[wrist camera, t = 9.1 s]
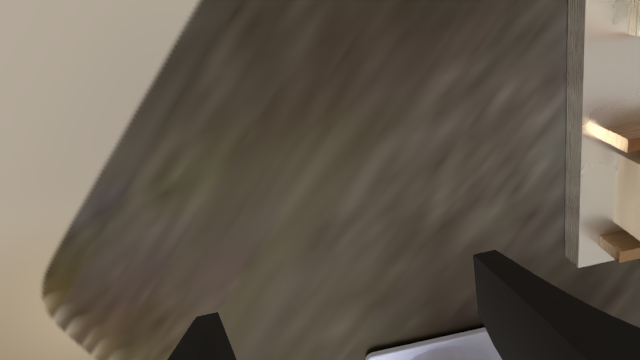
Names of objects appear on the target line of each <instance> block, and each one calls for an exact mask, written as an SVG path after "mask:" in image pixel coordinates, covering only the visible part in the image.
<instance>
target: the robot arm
mask: <svg viewBox="0 0 640 360" xmlns="http://www.w3.org/2000/svg"><path fill="white" fill-rule="evenodd" d="M473 258H474V270H475V281H476V293H477V304H478V313H479V315H480V318H481V320H482V322H483V324H484V326H485V327H484V328H480V329H475V330H471V331H466V332H462V333H457V334H453V335H448V336H444V337H439V338H435V339H430V340H426V341H421V342H417V343H412V344H407V345H403V346H398V347H394V348H389V349H385V350H380V351H376V352H372V353H370V354H368V355H367V357H366V360H640V328H638V327H636V326H634V325H632V324H629V323H627V322H625V321H622V320H620V319H618V318H615V317H613V316H611V315H609V314H607V313H605V312H602V311H600V310H598V309H596V308H594V307H592V306H590V305H588V304H586V303H585V302H583V301H581V300H579V299H577V298H575V297H573V296H571V295H569V294H567V293H566V292H564V291H562V290H560V289H558V288H557V287H555V286H553V285H551V284H550V283H548V282H546V281H545V280H543V279H541V278H540V277H538V276H536V275H535V274H533V273H531V272H530V271H528V270H527V269H525V268H523V267H522V266H520V265H519V264H517V263H515V262H514V261H512V260H511V259H509V258H507V257H506V256H504V255H503V254H501V253H499V252H498V251H496V250H493V251H488V252H484V253H479V254H475V255H473ZM168 360H236V358H235V355H234V352H233V350H232V347H231V345H230V342H229V340H228V337H227V335H226V332H225V329H224V327H223V324H222V322H221V319H220V317H219V314H218V312H216V313H212V314H207V315H203V316H199V317H196V318H195V320H194V321H193V323H192V324H191V326H190V327H189V329H188V330H187V331H186V333H185V334H184V336H183V337H182V339H181V340H180V342H179V343H178V345H177V346H176V348H175V349H174V351H173V352H172V354H171V355H170V357H169V358H168Z"/></svg>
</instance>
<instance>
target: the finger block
mask: <svg viewBox="0 0 640 360" xmlns="http://www.w3.org/2000/svg"><path fill="white" fill-rule="evenodd" d="M614 222H615V223H616V224H617V225H619V226H620V227H621V228H623V229H624V230H626V231H627V232H628V233H630V234H631V235H632V236H634V237H635V238H636V239H638V240H639V241H640V150H638V151H633V152H629V153H626V152H625V153H621V154H619V156H618V170H617V185H616V199H615V213H614Z"/></svg>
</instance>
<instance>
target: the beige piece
mask: <svg viewBox="0 0 640 360" xmlns="http://www.w3.org/2000/svg"><path fill="white" fill-rule="evenodd" d="M638 150H640V0H568V38H567V114H566V191H565V256H566V257H567V258H568V259H569V260H570V261H571V262H572V263H573V264H574V265H575V266H576V267H577V268H581V267H586V266H590V265H594V264H599V263H603V262H608V261H612V260H616V261H617V262H619V263H621V262H626V261H630V260H635V259H639V258H640V241H639V240H638V239H636V238H635V237H634V236H632V235H631V234H630V233H628V232H627V231H626V230H624V229H623V228H621V227H620V226H619V225H617V224H616V223H615V222H614V213H615V199H616V185H617V170H618V156H619V154H621V153H625V152H626V153H629V152H633V151H638Z"/></svg>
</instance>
